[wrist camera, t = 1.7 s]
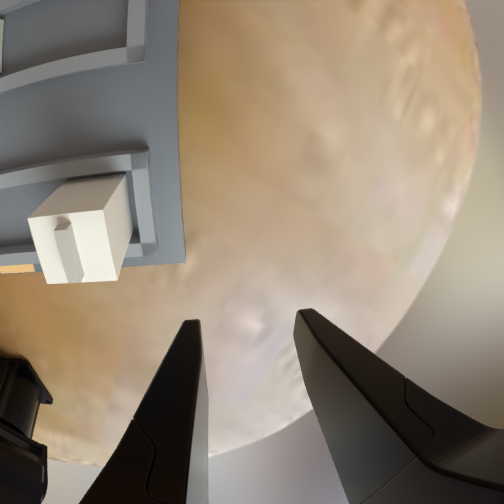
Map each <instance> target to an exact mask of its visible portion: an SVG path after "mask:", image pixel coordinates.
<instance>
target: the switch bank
mask: <svg viewBox="0 0 504 504" xmlns="http://www.w3.org/2000/svg"><path fill="white" fill-rule="evenodd" d="M179 10H180V0H0V19H1V20H4V28H3V45H2V73H0V274H11V273H29V272H43V270H42V267H41V264H40V261H39V257H38V254H37V251H36V248H35V244H34V241H33V237H32V234H31V230H30V226H29V223H28V219H27V218H28V217H29V216H30V215H31V214H32V213H33V212H34V211H35V210H36V209H37V208H38V207H39V206H40V205H41V204H42V203H43V202H44V201H45V200H46V199H47V198H48V197H49V196H50V195H51V194H52V193H53V192H54V191H55V190H56V189H57V188H58V187H60V186H61V185H62V184H63V183H64V182H65V181H68V180H75V179H83V178H91V177H99V176H108V175H117V174H126V177H127V186H128V194H129V202H130V210H131V217H132V224H133V232H132V235H131V238H130V241H129V244H128V247H127V251H126V254H125V257H124V260H123V263H122V267H129V266H144V265H160V264H175V263H186V251H185V239H184V226H183V212H182V196H181V178H180V156H179V126H178V38H179Z"/></svg>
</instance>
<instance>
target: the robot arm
mask: <svg viewBox="0 0 504 504" xmlns="http://www.w3.org/2000/svg"><path fill="white" fill-rule="evenodd" d="M294 341H295V345H296V350H297V354H298V358H299V362H300V366H301V371H302V375H303V379H304V383H305V386H306V389H307V392H308V395H309V398H310V400H311V403H312V406H313V408H314V411H315V414H316V416H317V419H318V422H319V424H320V427H321V430H322V432H323V435H324V438H325V440H326V443H327V446H328V448H329V451H330V454H331V456H332V459H333V462H334V464H335V467H336V469H337V472H338V475H339V478H340V481H341V483H342V486H343V488H344V491H345V494H346V497H347V499H348V502H349V504H504V429H496V428H492V427H489V426H486V425H483V424H481V423H480V422H478V421H476V420H474V419H472V418H471V417H468V416H467V415H465V414H463V413H462V412H460V411H458V410H456V409H454V408H453V407H451V406H449V405H448V404H446V403H444V402H443V401H441V400H439V399H438V398H436V397H434V396H433V395H431V394H430V393H428V392H427V391H425V390H424V389H422V388H421V387H419V386H418V385H417V384H415V383H414V382H412V381H411V380H409V379H408V378H405V376H404V375H403V374H401V373H400V372H399V371H397V370H396V369H394V368H393V367H392V366H390V365H389V364H388V363H386V362H385V361H383V360H382V359H381V358H379V357H378V356H377V355H375V354H374V353H373V352H371V351H370V350H368V349H367V348H366V347H364V346H363V345H362V344H360V343H359V342H358V341H356V340H355V339H353V338H352V337H351V336H349V335H348V334H347V333H345V332H344V331H343V330H341V329H340V328H338V327H337V326H336V325H334V324H333V323H332V322H330V321H329V320H328V319H326V318H325V317H324V316H322V315H321V314H319V313H318V312H317V311H315V310H314V309H312V308H308V309H300V310H298V311H297V313H296V319H295V326H294ZM40 403H42V404H52V403H53V399H52V397H51V396H50V394H49V393H48V391H47V390H46V389H45V387H44V386H43V384H42V383H41V381H40V379H39V378H38V376H37V375H36V373H35V372H34V370H33V368H32V367H31V365H30V364H29V362H27V361H25V360H17V359H6V358H0V504H41V503H42V501H43V500H44V497H45V495H46V491H47V484H48V475H47V446H46V445H44V444H40V443H38V442H36V441H34V440H32V436H33V431H34V427H35V422H36V418H37V414H38V410H39V406H40ZM133 418H134V419H132V420H131V422H130V424H129V426H128V428H127V430H126V432H125V433H124V435H123V437H122V439H121V441H120V443H119V444H118V446H117V448H116V450H115V451H114V453H113V454H112V456H111V457H110V459H109V460H108V462H107V464H106V465H105V467H104V468H103V469H102V471H101V472H100V474H99V475H98V477H97V478H96V480H95V481H94V483H93V484H92V485H91V487H90V488H89V490H88V491H87V493H86V494H85V495H84V497H83V498H82V500H81V501H80V503H79V504H208V389H207V380H206V371H205V361H204V351H203V341H202V332H201V323H200V320H199V319H193V320H185V321H184V322H183V323H182V325H181V327H180V329H179V331H178V333H177V335H176V336H175V338H174V340H173V342H172V344H171V346H170V348H169V349H168V351H167V353H166V355H165V357H164V359H163V361H162V363H161V364H160V366H159V368H158V370H157V372H156V374H155V376H154V378H153V380H152V382H151V383H150V385H149V387H148V389H147V391H146V393H145V395H144V397H143V399H142V401H141V403H140V405H139V407H138V408H137V410H136V412H135V414H134V416H133Z"/></svg>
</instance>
